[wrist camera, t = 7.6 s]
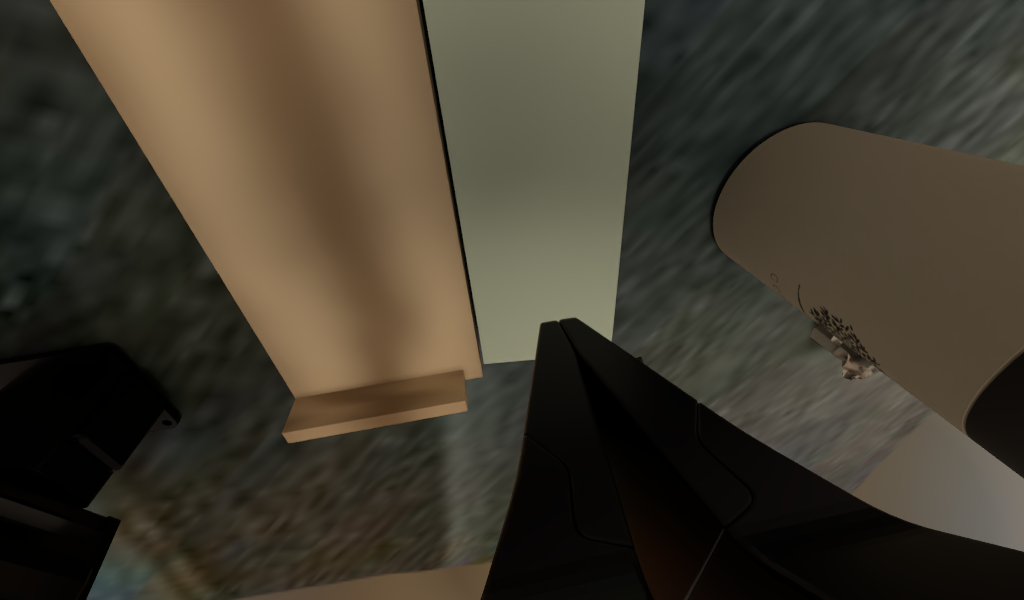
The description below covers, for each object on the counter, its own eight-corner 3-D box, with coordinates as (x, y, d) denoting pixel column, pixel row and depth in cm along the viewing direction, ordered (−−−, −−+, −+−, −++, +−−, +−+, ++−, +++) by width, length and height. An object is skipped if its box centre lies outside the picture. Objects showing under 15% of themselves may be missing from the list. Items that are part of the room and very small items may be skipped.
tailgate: (484, 363, 21) (610, 352, 21) (406, -98, 11) (657, -123, 10) (484, 342, 22) (602, 331, 22) (416, -82, 12) (637, -104, 12)
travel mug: (831, 83, 18) (2399, 260, 4) (858, 199, 22) (1648, 500, 8) (687, 195, 20) (1312, 587, 6) (736, 282, 25) (1175, 639, 10)
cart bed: (315, 369, 23) (288, 443, 19) (69, -94, 12) (-144, -170, 7) (478, 342, 24) (486, 407, 20) (398, -114, 12) (378, -193, 8)
